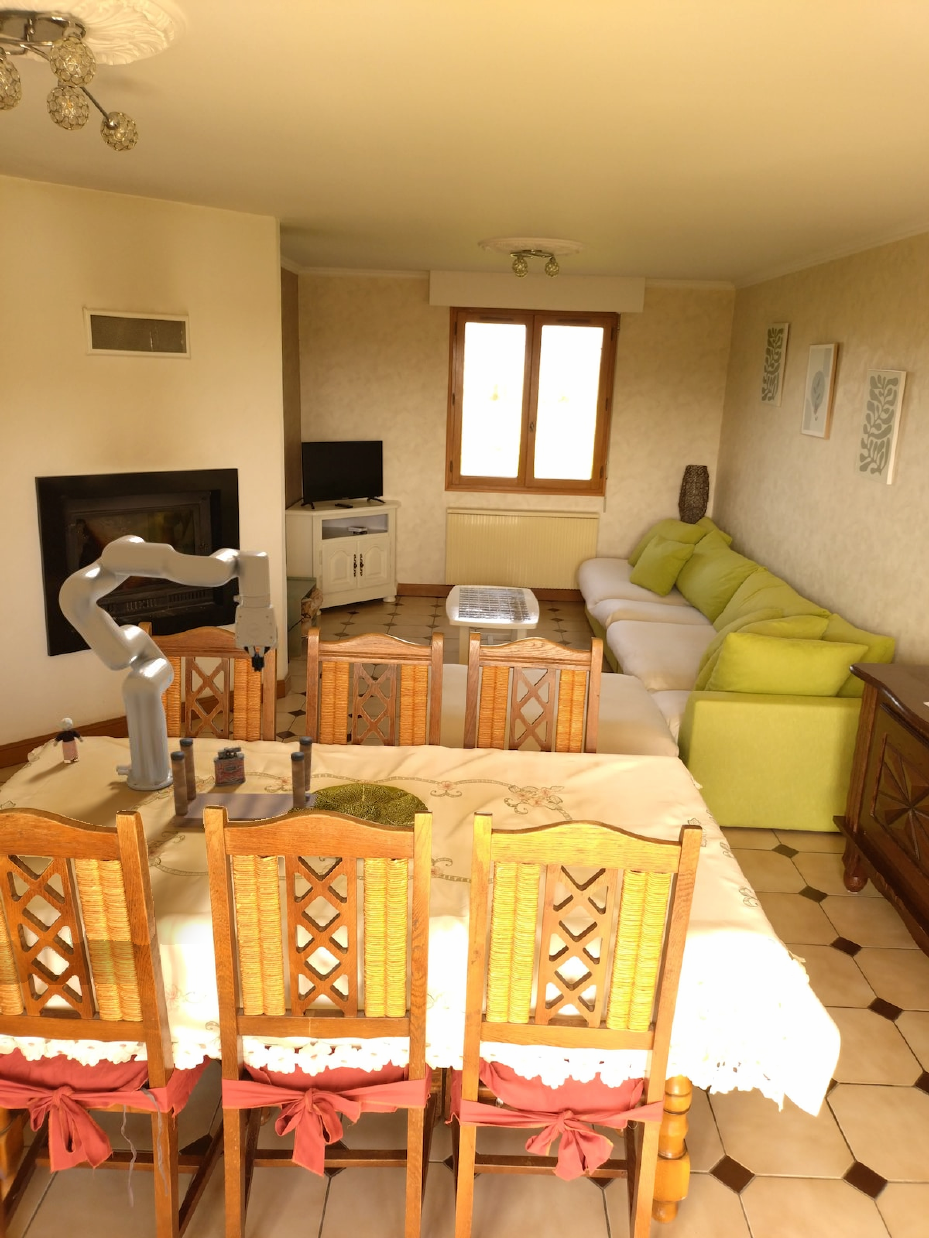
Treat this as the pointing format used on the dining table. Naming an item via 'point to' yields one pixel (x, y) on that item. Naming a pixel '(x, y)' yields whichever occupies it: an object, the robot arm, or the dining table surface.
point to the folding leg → (306, 758)
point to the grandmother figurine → (68, 740)
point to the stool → (236, 803)
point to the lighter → (229, 767)
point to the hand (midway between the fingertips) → (258, 669)
